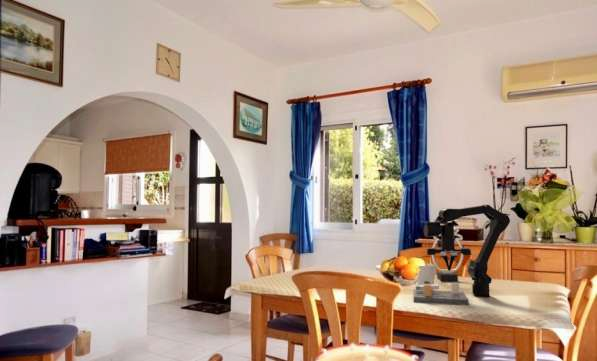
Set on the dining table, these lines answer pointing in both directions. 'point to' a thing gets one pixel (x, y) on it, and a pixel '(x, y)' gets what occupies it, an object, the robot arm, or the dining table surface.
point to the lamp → (447, 275)
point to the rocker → (421, 287)
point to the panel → (440, 297)
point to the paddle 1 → (427, 290)
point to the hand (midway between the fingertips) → (449, 270)
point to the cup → (426, 274)
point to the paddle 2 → (455, 287)
